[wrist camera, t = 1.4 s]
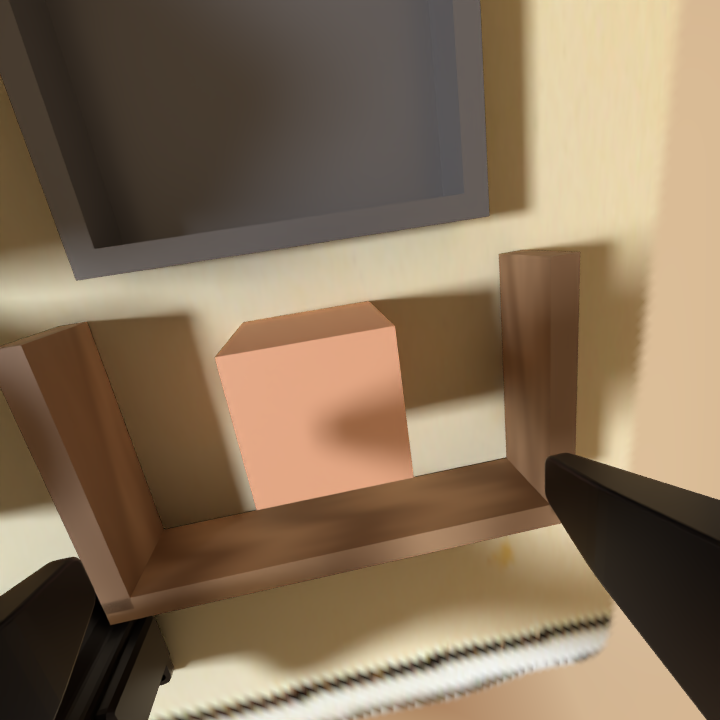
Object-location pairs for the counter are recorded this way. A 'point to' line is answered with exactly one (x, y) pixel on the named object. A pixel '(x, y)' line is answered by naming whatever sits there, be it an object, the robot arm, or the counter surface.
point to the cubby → (308, 517)
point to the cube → (317, 403)
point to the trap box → (245, 122)
